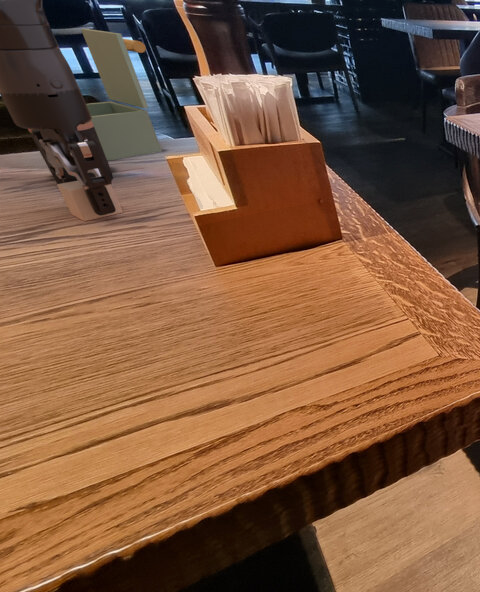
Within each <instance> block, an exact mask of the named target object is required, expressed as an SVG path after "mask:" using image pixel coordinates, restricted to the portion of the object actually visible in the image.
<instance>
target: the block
mask: <svg viewBox="0 0 480 592" xmlns="http://www.w3.org/2000/svg"><path fill="white" fill-rule="evenodd" d="M56 185H57V188H58V190H59V192H60V194H61V196H62V198H63V200H64V202H65V204H66V206H67V208H68V210H69V212H70V215H72V216H73V217H76V218H77V219H78V220H79V219H80V220H81V221H83V222H88V221H92V220H97V219H101V218H105V217H110V216H115V215H118V214H123V210H122V207H121V204H120V203H119V200H118V198H117V195H116V193H115V191H114V189H113V187H112V183H111V184H110V185H108V186H105V187H106V188H107V191H108V193H109V195H110V197H111V200H112V202H113V204H114V206H115V209H116V211H115V212H114V213H111V214H106V215H102V216H100V215H97V214H95V213H94V211H93V208H92V206H91V204H90V202H89V200H88V198H87V195H86V193H85V191H84V189H83V188H82V187H81V184H80V183H79V181H73V182H67V183H62V184H57V183H56Z"/></svg>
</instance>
